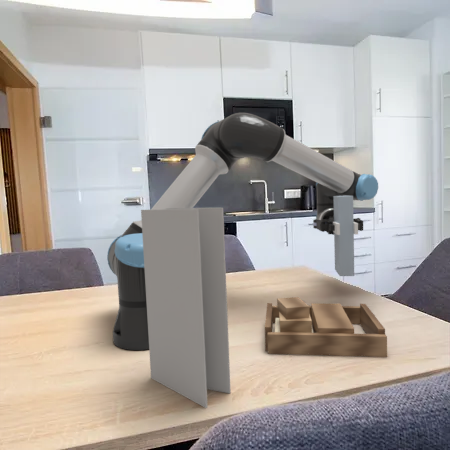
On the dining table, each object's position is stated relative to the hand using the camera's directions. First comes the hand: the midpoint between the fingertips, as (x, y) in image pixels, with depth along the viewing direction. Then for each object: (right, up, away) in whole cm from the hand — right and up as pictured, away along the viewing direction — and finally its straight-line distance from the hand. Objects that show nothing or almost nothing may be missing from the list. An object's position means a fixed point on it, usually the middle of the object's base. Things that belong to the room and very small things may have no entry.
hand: (347, 229), depth 87 cm
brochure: (-36, -26, -26) cm, 52 cm away
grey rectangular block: (+1, -12, +6) cm, 13 cm away
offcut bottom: (-15, -25, -8) cm, 30 cm away
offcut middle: (-14, -22, -8) cm, 27 cm away
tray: (-9, -24, -8) cm, 27 cm away
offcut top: (-15, -19, -8) cm, 25 cm away
